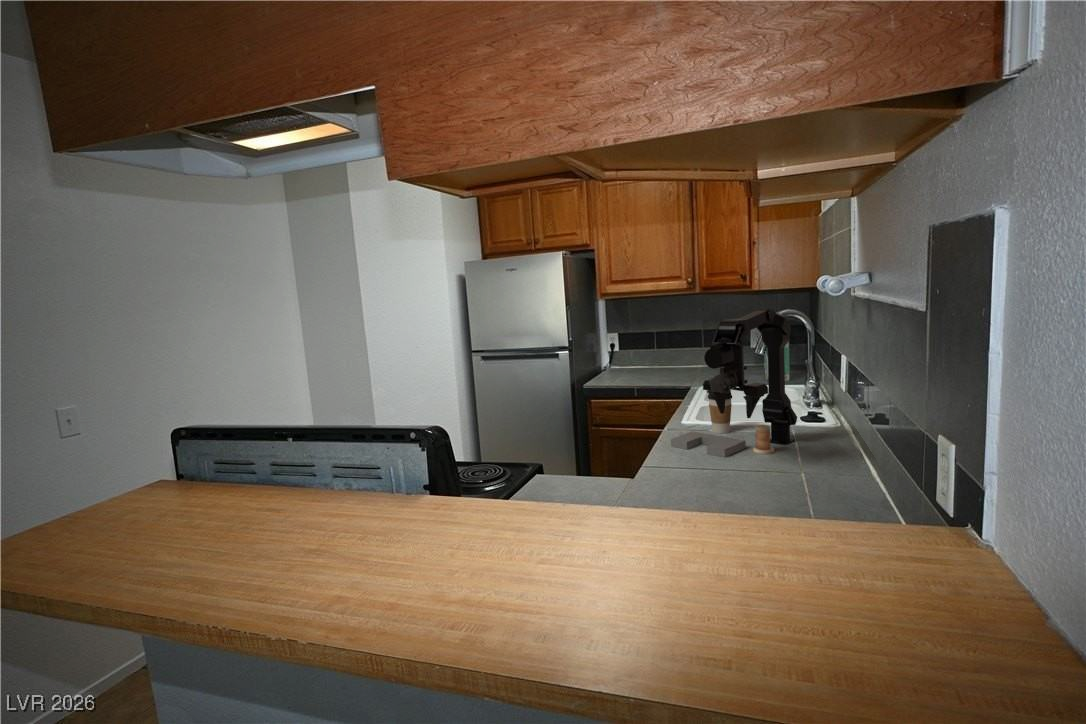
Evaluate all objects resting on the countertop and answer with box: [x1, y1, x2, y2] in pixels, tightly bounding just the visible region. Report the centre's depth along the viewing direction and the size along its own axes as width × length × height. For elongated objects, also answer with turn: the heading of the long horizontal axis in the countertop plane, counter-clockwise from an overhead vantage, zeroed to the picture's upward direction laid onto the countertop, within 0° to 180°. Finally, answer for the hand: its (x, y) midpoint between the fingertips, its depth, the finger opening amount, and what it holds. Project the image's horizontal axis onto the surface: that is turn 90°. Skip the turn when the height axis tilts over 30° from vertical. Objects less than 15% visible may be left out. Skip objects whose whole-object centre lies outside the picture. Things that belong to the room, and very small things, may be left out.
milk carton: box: [763, 340, 791, 382], centre depth 285 cm, size 9×9×25 cm
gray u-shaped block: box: [670, 431, 747, 458], centre depth 181 cm, size 12×20×2 cm, turn 40°
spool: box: [752, 424, 775, 455], centre depth 172 cm, size 6×6×8 cm
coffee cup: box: [707, 389, 733, 435], centre depth 198 cm, size 8×8×15 cm
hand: (735, 415), depth 163 cm, fingers open, 9 cm apart
